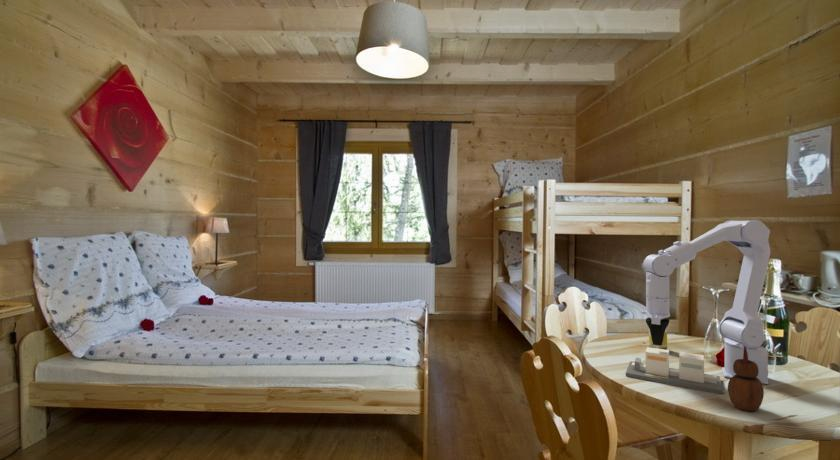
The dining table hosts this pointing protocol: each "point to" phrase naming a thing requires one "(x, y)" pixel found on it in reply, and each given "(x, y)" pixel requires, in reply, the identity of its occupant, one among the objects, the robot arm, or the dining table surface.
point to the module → (657, 361)
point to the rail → (680, 374)
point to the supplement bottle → (664, 345)
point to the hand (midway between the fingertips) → (657, 344)
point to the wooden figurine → (745, 385)
